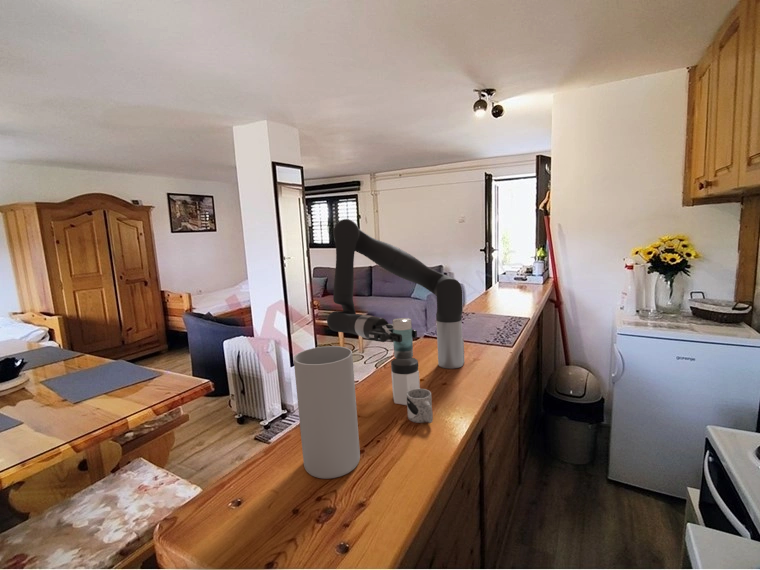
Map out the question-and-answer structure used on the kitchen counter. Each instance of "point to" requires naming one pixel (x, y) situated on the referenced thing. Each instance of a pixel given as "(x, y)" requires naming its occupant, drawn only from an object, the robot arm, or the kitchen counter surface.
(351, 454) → the cylinder vase
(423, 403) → the mug
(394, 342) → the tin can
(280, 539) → the kitchen counter surface
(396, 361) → the jar
